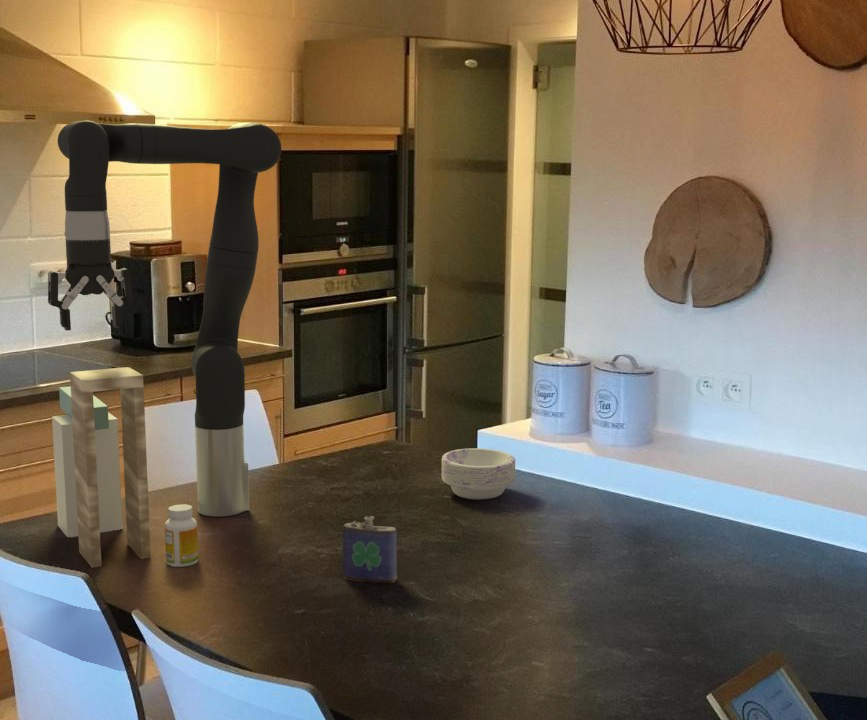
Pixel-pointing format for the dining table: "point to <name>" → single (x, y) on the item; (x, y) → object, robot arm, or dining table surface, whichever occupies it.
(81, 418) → the bridge
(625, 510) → the dining table surface
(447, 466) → the paper bowls
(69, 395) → the pale green long bar
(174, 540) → the supplement bottle
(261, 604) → the dining table surface
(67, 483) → the light grey tall block
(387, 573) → the flask
